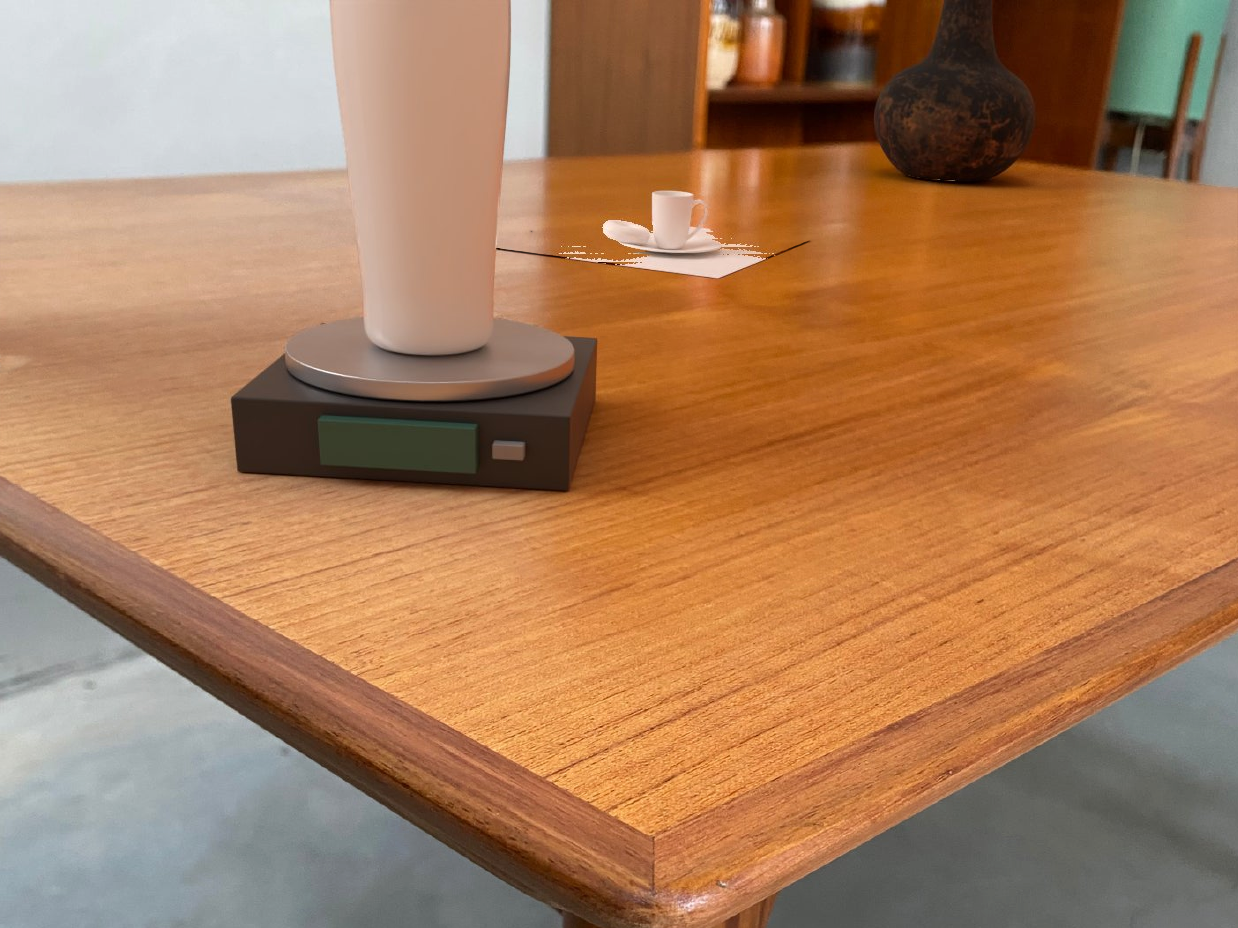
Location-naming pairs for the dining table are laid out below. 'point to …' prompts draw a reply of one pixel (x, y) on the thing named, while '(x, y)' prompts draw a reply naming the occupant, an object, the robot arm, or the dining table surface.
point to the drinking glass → (424, 163)
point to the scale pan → (429, 364)
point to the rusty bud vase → (956, 104)
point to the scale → (416, 432)
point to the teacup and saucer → (676, 241)
